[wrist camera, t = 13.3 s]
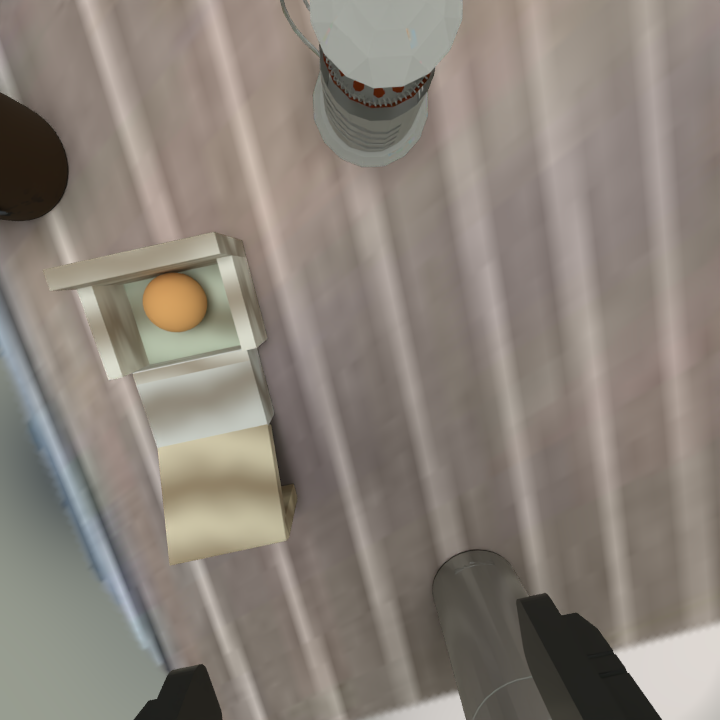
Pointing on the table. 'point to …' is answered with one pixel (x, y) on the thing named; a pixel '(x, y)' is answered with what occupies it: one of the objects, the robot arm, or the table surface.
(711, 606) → the table surface
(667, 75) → the table surface
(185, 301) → the ball
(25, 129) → the olive oil
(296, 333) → the table surface
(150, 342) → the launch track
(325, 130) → the french press
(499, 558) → the robot arm
